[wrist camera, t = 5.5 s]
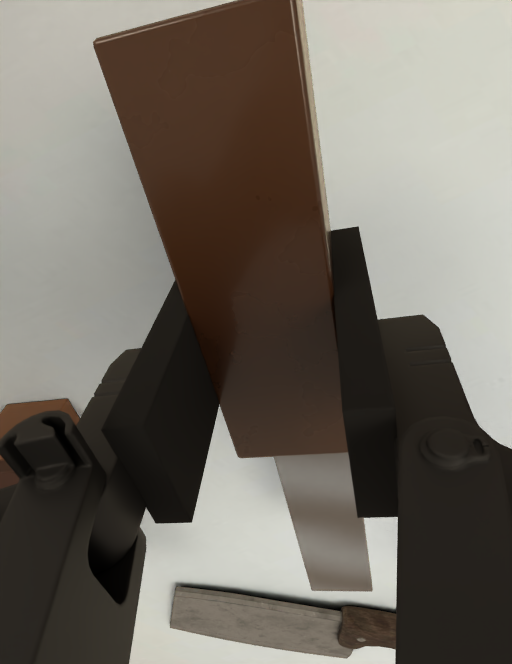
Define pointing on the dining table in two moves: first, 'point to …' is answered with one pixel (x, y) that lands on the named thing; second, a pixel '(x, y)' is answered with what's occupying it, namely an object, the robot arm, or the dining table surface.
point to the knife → (250, 244)
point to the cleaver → (281, 623)
